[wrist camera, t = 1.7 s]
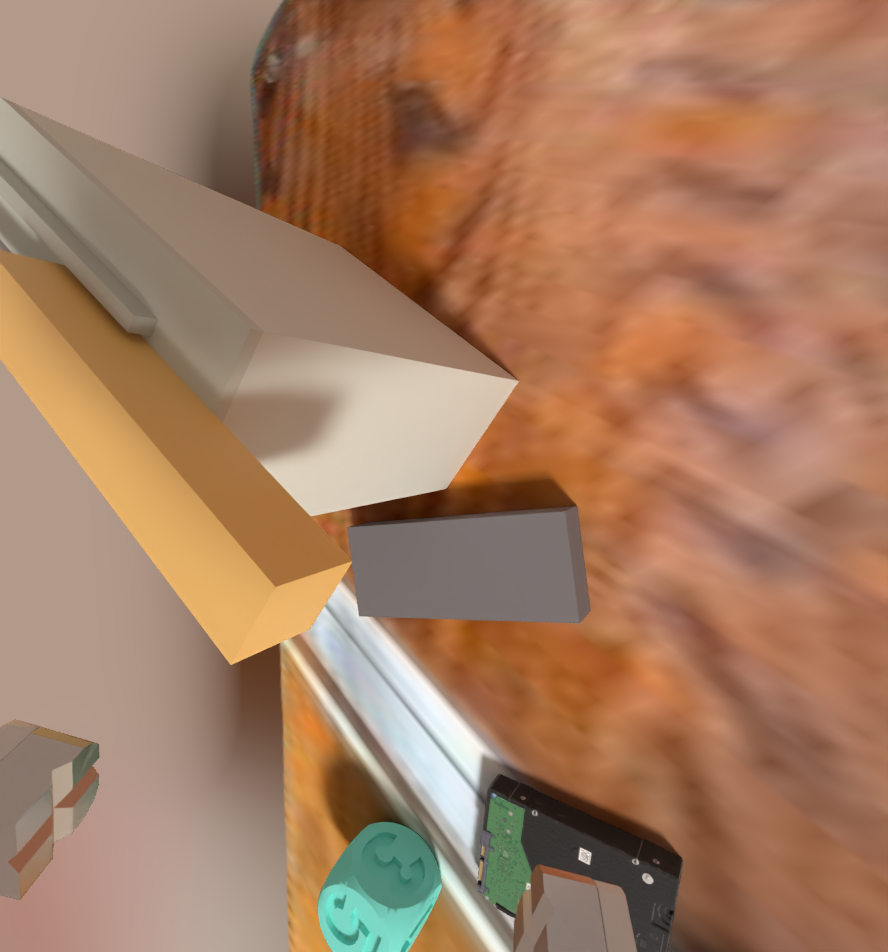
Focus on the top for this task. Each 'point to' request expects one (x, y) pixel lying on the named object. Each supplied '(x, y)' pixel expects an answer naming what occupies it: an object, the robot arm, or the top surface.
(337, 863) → the decorative dice
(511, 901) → the disk drive
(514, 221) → the top surface
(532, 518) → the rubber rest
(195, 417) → the long orange square stick
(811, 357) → the top surface
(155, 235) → the slotted cream upright block
